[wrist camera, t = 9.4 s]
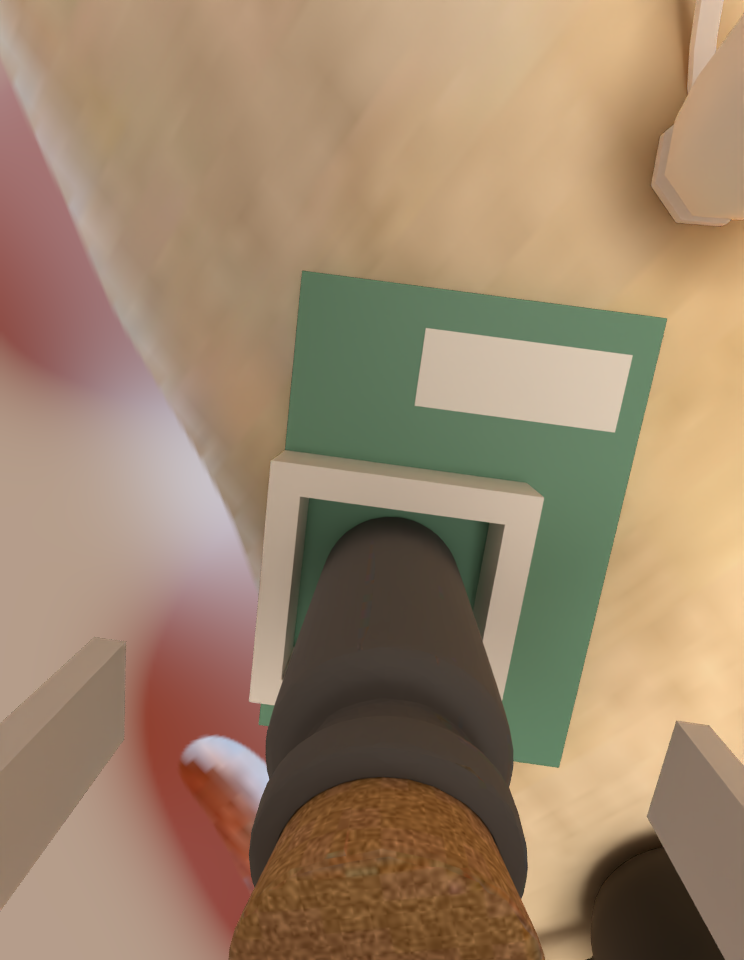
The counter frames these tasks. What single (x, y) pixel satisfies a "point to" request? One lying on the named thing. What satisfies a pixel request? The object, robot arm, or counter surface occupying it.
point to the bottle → (388, 773)
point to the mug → (649, 915)
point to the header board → (461, 469)
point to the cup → (706, 129)
